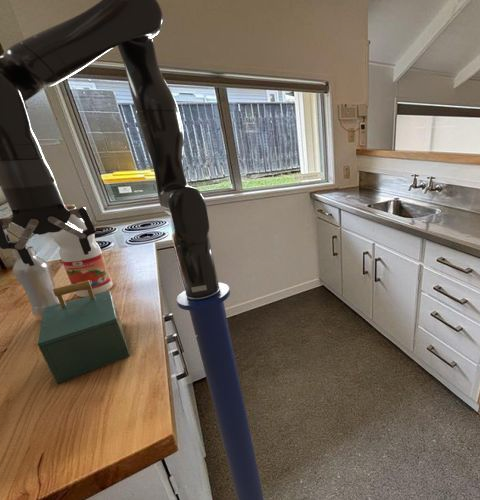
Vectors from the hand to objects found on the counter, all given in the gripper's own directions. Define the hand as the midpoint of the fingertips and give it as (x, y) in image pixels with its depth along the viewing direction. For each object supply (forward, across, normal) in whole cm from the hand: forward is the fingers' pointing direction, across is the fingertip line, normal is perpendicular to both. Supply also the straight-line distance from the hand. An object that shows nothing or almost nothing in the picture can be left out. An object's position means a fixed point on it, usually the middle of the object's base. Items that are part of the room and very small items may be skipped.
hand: (60, 259), depth 62 cm
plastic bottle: (+21, +8, -20) cm, 30 cm away
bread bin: (+21, 0, +6) cm, 22 cm away
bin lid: (+12, 0, +6) cm, 13 cm away
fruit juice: (+21, -1, -32) cm, 38 cm away
